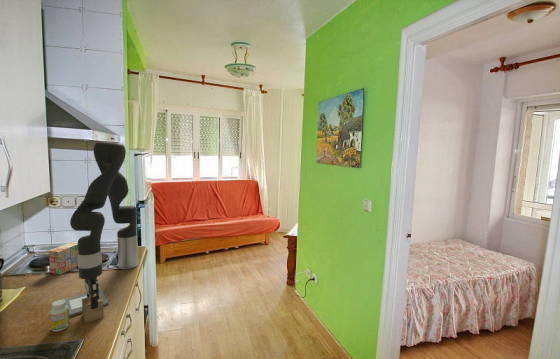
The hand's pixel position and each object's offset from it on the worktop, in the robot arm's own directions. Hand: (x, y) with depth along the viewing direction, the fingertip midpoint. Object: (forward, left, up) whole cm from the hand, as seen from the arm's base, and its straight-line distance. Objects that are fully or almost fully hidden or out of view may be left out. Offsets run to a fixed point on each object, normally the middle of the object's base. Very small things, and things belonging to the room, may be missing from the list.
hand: (92, 303), depth 108 cm
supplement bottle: (0, -10, -6) cm, 12 cm away
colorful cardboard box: (-58, 0, -6) cm, 58 cm away
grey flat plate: (-12, -2, -6) cm, 14 cm away
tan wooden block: (0, 0, -6) cm, 6 cm away
